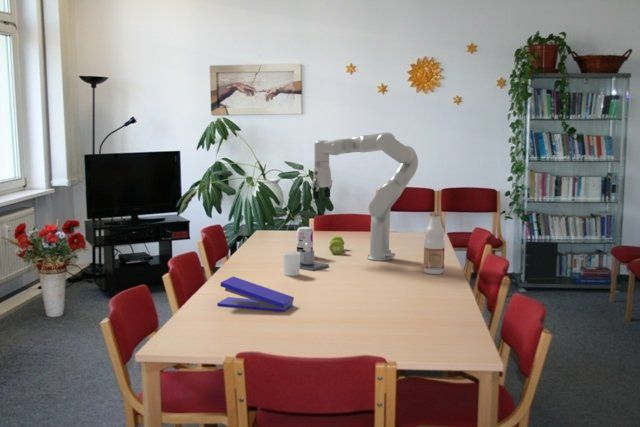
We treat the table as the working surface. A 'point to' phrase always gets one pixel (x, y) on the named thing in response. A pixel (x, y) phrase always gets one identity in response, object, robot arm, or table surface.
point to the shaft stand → (312, 265)
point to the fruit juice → (434, 246)
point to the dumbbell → (336, 245)
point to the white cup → (291, 263)
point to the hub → (306, 256)
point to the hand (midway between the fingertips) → (321, 198)
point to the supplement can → (304, 237)
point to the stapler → (254, 296)
